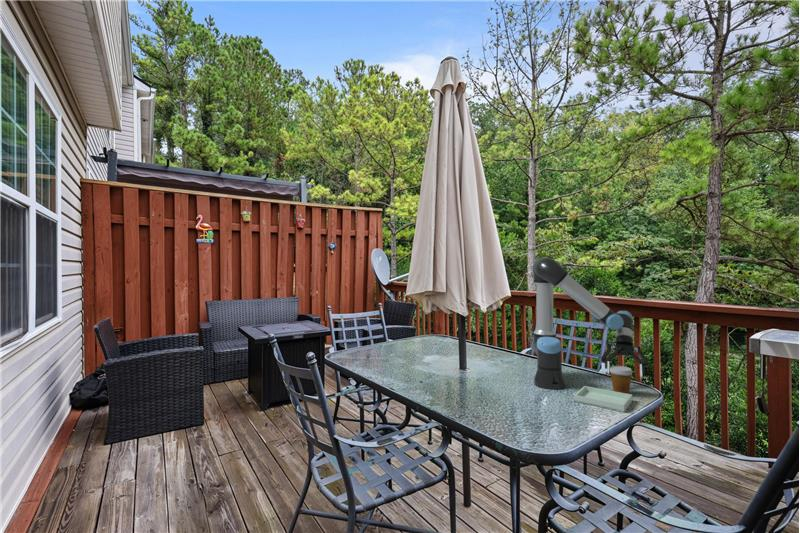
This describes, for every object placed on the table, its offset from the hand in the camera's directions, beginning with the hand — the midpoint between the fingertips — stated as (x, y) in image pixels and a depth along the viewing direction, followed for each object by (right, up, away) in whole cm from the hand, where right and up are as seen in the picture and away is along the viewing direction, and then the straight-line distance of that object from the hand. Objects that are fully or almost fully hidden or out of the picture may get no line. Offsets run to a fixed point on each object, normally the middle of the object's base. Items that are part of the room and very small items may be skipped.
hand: (624, 376), depth 185 cm
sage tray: (-16, -8, -11) cm, 21 cm away
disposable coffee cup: (-2, -8, -2) cm, 8 cm away
